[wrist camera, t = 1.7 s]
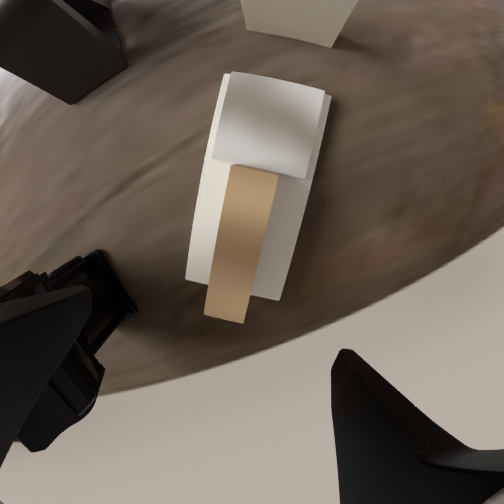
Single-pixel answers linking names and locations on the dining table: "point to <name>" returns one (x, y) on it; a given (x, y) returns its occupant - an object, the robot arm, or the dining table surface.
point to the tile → (298, 18)
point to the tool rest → (279, 223)
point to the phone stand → (60, 44)
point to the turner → (255, 176)
